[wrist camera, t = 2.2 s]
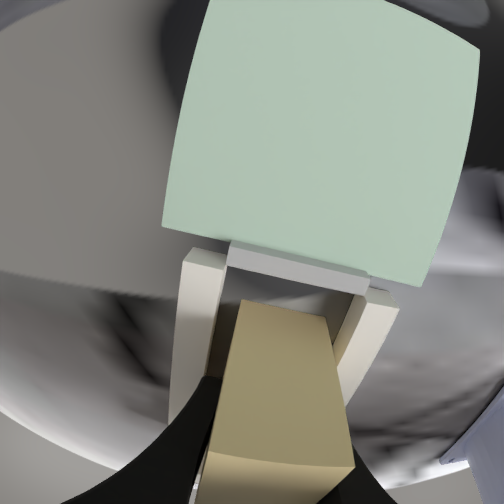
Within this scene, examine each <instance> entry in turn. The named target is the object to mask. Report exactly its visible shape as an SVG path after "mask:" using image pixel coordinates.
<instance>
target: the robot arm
mask: <svg viewBox="0 0 504 504" xmlns="http://www.w3.org/2000/svg"><path fill="white" fill-rule="evenodd" d="M222 382H223V379H218V378H214V377H210V376H206V375H205V376H203V377H202V378H201V380H200V382H199V384H198V386H197V388H196V390H195V391H194V393H193V394H192V396H191V397H190V399H189V400H188V402H187V403H186V405H185V406H184V407H183V409H182V410H181V411H180V412H179V414H178V415H177V416H176V418H175V419H174V420H173V421H172V422H171V424H170V425H169V426H168V427H167V428H166V429H165V430H164V431H163V432H162V433H161V434H160V436H159V437H158V438H157V439H156V440H155V441H154V442H153V443H152V444H151V445H150V446H148V447H147V448H146V449H145V450H144V451H143V452H142V453H141V454H140V455H138V456H137V457H136V458H135V459H134V460H132V461H131V462H130V463H129V464H127V465H126V466H125V467H123V468H122V469H121V470H119V471H118V472H117V473H115V474H114V475H112V476H111V477H109V478H108V479H106V480H104V481H103V482H101V483H100V484H98V485H96V486H95V487H93V488H91V489H90V490H88V491H86V492H84V493H82V494H80V495H78V496H76V497H74V498H72V499H69V500H67V501H65V502H63V503H61V504H189V499H190V495H191V492H192V489H193V486H194V483H195V480H196V477H197V474H198V471H199V468H200V465H201V463H202V460H203V457H204V454H205V451H206V448H207V445H208V442H209V438H210V433H211V429H212V425H213V421H214V417H215V413H216V409H217V405H218V400H219V396H220V391H221V387H222ZM351 444H352V443H351ZM352 450H353V456H354V462H355V468H354V469H353V470H352V471H351V472H350V473H349V474H348V475H347V476H346V477H345V478H344V479H343V480H342V481H341V482H339V483H338V484H337V485H336V486H335V487H334V488H333V489H332V490H331V491H330V492H329V493H327V494H326V495H325V496H324V497H323V498H322V499H321V500H319V501H318V502H317V503H316V504H397V503H396V502H395V501H394V500H393V499H392V498H391V497H390V496H389V495H388V493H386V491H385V490H384V489H383V488H382V487H381V485H380V484H379V483H378V482H377V480H376V479H375V478H374V476H373V475H372V474H371V472H370V471H369V470H368V468H367V467H366V465H365V464H364V462H363V461H362V459H361V458H360V456H359V455H358V453H357V451H356V450H355V448H354V446H353V445H352ZM464 460H467V461H468V463H469V466H470V468H471V470H472V473H473V476H474V478H475V481H476V484H477V487H478V489H479V493H480V495H481V498H482V501H483V504H504V386H503V388H502V389H501V390H500V392H499V393H498V394H497V396H496V397H495V398H494V400H493V401H492V402H491V403H490V405H489V406H488V407H487V408H486V410H485V411H484V412H483V413H482V414H481V416H480V417H479V418H478V419H477V420H476V421H475V423H474V424H473V425H472V426H471V427H470V428H469V429H468V430H467V432H466V433H465V434H464V435H463V436H462V437H461V438H460V439H459V440H458V441H457V442H456V443H455V444H454V445H453V446H452V447H451V448H450V449H449V450H448V451H447V452H446V453H445V454H444V455H443V456H442V457H441V458H440V459H439V462H440V464H448V463H454V462H459V461H464Z"/></svg>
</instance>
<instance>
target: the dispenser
mask: <svg viewBox="0 0 504 504" xmlns="http://www.w3.org/2000/svg"><path fill="white" fill-rule="evenodd" d="M227 265H228V266H232V267H237V268H241V269H245V270H249V271H254V272H258V273H263V274H267V275H271V276H275V277H280V278H284V279H289V280H293V281H298V282H302V283H306V284H311V285H315V286H320V287H325V288H329V289H334V290H338V291H343V292H347V293H352V294H355V295H354V297H353V300H352V302H351V305H350V307H349V310H348V312H347V314H346V317H345V319H344V321H343V324H342V326H341V328H340V331H339V333H338V335H337V337H336V340H335V342H334V344H333V346H332V349H333V353H334V358H335V362H336V367H337V372H338V376H339V381H340V386H341V391H342V396H343V401H344V406H345V407H346V405H347V404H348V402H349V401H350V399H351V398H352V396H353V394H354V393H355V391H356V390H357V388H358V386H359V385H360V383H361V381H362V380H363V378H364V376H365V374H366V373H367V371H368V369H369V368H370V366H371V364H372V362H373V360H374V359H375V357H376V355H377V353H378V351H379V349H380V348H381V346H382V344H383V342H384V340H385V338H386V336H387V334H388V332H389V330H390V328H391V326H392V324H393V322H394V320H395V318H396V316H397V314H398V312H399V310H400V309H399V307H398V305H397V304H396V302H395V301H394V299H393V298H392V296H391V295H390V293H389V291H384V290H380V289H375V288H371V287H368V286H369V283H370V281H371V278H370V277H369V275H368V273H367V272H366V271H363V270H359V269H354V268H350V267H346V266H342V265H338V264H334V263H329V262H325V261H321V260H317V259H313V258H308V257H304V256H300V255H296V254H291V253H287V252H283V251H279V250H275V249H270V248H266V247H262V246H257V245H253V244H249V243H245V242H240V241H236V240H232V241H231V244H230V246H229V250H228V255H227V254H223V253H218V252H214V251H210V250H205V249H202V248H197V247H193V248H192V249H191V251H190V252H189V253H188V254H187V256H186V257H185V258H184V260H183V264H182V271H181V279H180V287H179V295H178V304H177V313H176V322H175V332H174V343H173V354H172V367H171V380H170V396H169V415H168V426H169V425H170V424H171V422H172V421H173V420H174V419H175V418H176V416H177V415H178V414H179V412H180V411H181V410H182V409H183V407H184V406H185V405H186V403H187V402H188V400H189V399H190V397H191V396H192V394H193V393H194V391H195V390H196V388H197V386H198V384H199V382H200V380H201V378H202V377H203V376H205V375H206V372H207V367H208V361H209V356H210V351H211V346H212V340H213V335H214V330H215V325H216V319H217V314H218V309H219V304H220V299H221V294H222V288H223V284H224V279H225V274H226V269H227ZM206 449H207V448H206ZM205 453H206V451H205ZM204 458H205V454H204V457H203V460H202V463H201V465H200V468H199V471H198V474H197V477H196V480H195V483H196V484H199V480H200V476H201V471H202V467H203V462H204Z"/></svg>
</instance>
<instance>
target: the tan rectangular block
mask: <svg viewBox="0 0 504 504" xmlns="http://www.w3.org/2000/svg"><path fill="white" fill-rule="evenodd" d="M354 468H355V462H354V456H353V450H352V444H351V438H350V433H349V427H348V422H347V416H346V411H345V406H344V401H343V396H342V391H341V386H340V381H339V376H338V372H337V367H336V362H335V358H334V353H333V349H332V344H331V340H330V336H329V331H328V327H327V323H326V319H325V317H322V316H317V315H312V314H307V313H303V312H298V311H293V310H288V309H284V308H279V307H274V306H270V305H265V304H261V303H256V302H252V301H248V300H243V299H241V303H240V308H239V312H238V316H237V320H236V324H235V329H234V333H233V337H232V341H231V345H230V350H229V354H228V358H227V362H226V366H225V371H224V375H223V382H222V387H221V391H220V396H219V400H218V405H217V409H216V413H215V417H214V421H213V425H212V429H211V433H210V438H209V442H208V445H207V449H206V453H205V458H204V462H203V467H202V471H201V476H200V480H199V485H198V489H197V494H196V498H195V502H194V504H316V503H317V502H318V501H319V500H321V499H322V498H323V497H324V496H325V495H326V494H327V493H329V492H330V491H331V490H332V489H333V488H334V487H335V486H336V485H337V484H338V483H339V482H341V481H342V480H343V479H344V478H345V477H346V476H347V475H348V474H349V473H350V472H351V471H352V470H353V469H354Z"/></svg>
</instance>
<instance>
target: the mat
mask: <svg viewBox="0 0 504 504" xmlns="http://www.w3.org/2000/svg"><path fill="white" fill-rule="evenodd" d="M479 56H480V50H479V49H477V48H476V47H474V46H473V45H471V44H470V43H468V42H466V41H465V40H463V39H461V38H460V37H458V36H456V35H455V34H453V33H451V32H449V31H448V30H446V29H444V28H442V27H440V26H438V25H437V24H435V23H433V22H431V21H429V20H427V19H425V18H423V17H421V16H419V15H416V14H414V13H412V12H410V11H408V10H406V9H403V8H401V7H399V6H396V5H394V4H392V3H389V2H386V1H384V0H210V2H209V5H208V8H207V12H206V15H205V18H204V21H203V25H202V28H201V31H200V35H199V39H198V42H197V46H196V49H195V53H194V57H193V61H192V65H191V68H190V72H189V77H188V80H187V85H186V89H185V93H184V98H183V102H182V107H181V111H180V117H179V121H178V126H177V131H176V136H175V141H174V147H173V152H172V158H171V164H170V169H169V176H168V182H167V188H166V195H165V202H164V209H163V217H162V225H161V226H162V227H166V228H170V229H175V230H180V231H184V232H188V233H192V234H197V235H201V236H206V237H210V238H214V239H218V240H222V241H227V242H231V241H232V240H236V241H240V242H245V243H249V244H253V245H257V246H262V247H266V248H270V249H275V250H279V251H283V252H287V253H291V254H296V255H300V256H304V257H308V258H313V259H317V260H321V261H325V262H329V263H334V264H338V265H342V266H346V267H350V268H354V269H359V270H363V271H366V272H367V273H368V275H371V276H375V277H380V278H384V279H388V280H392V281H396V282H401V283H405V284H409V285H413V286H417V287H421V286H422V283H423V281H424V279H425V276H426V274H427V272H428V269H429V267H430V264H431V262H432V259H433V257H434V254H435V252H436V249H437V246H438V244H439V241H440V238H441V235H442V233H443V230H444V227H445V224H446V221H447V218H448V215H449V212H450V208H451V205H452V202H453V199H454V195H455V192H456V188H457V185H458V181H459V177H460V174H461V170H462V166H463V161H464V157H465V153H466V148H467V144H468V139H469V134H470V129H471V123H472V117H473V111H474V104H475V97H476V89H477V80H478V70H479Z"/></svg>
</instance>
